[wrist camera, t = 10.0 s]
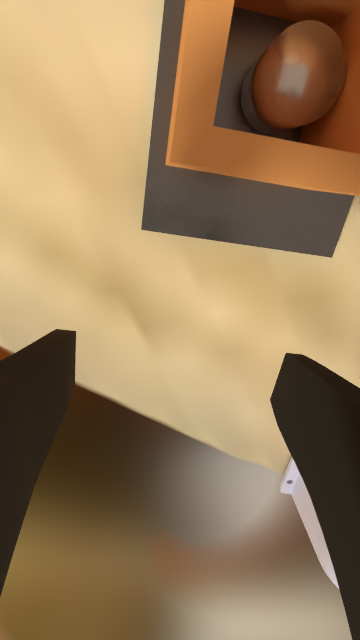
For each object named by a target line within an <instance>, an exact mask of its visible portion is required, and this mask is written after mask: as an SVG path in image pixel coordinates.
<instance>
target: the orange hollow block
mask: <svg viewBox="0 0 360 640" xmlns="http://www.w3.org/2000/svg"><path fill="white" fill-rule="evenodd" d="M233 6H234V7H238V8H242V9H246V10H250V11H254V12H258V13H263V14H267V15H271V16H275V17H279V18H283V19H287V20H291V21H295V22H301V21H305V20H315V21H319V22H322V23H324V24H326V25H328V26H329V27H331V28H332V29H333V30H334V31H335V32H336V34H337V35H338V37H339V38H340V40H341V42H342V45H343V48H344V51H345V57H346V73H345V79H344V83H343V86H342V89H341V92H340V94H339V96H338V98H337V99H336V101H335V103H334V104H333V105H332V107H331V108H330V109H329V110H328V111H327V112H326V113H325V114H324V115H323V116H322V117H320V118H319V119H317V120H315V121H313V122H311V123H308V124H305V125H304V126H303V129H302V133H301V137H300V140H299V142H294V141H288V140H283V139H278V138H273V137H268V136H262V135H257V134H252V133H247V132H242V131H236V130H231V129H226V128H221V127H216V126H213V124H214V118H215V112H216V106H217V100H218V95H219V89H220V83H221V77H222V71H223V65H224V59H225V53H226V48H227V42H228V36H229V30H230V24H231V18H232V12H233ZM165 165H168V166H174V167H180V168H186V169H192V170H197V171H203V172H209V173H215V174H220V175H226V176H232V177H238V178H243V179H249V180H255V181H261V182H266V183H272V184H278V185H284V186H289V187H295V188H301V189H307V190H314V191H323V192H331V193H339V194H348V195H356V196H360V0H185V7H184V15H183V24H182V32H181V40H180V48H179V56H178V64H177V73H176V81H175V89H174V97H173V105H172V114H171V122H170V130H169V138H168V146H167V154H166V163H165Z"/></svg>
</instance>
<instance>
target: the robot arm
mask: <svg viewBox="0 0 360 640" xmlns="http://www.w3.org/2000/svg"><path fill="white" fill-rule="evenodd" d="M75 351H76V331H69V330H59V329H56V330H54V331H52V332H50V333H49V334H47V335H45V336H43V337H42V338H40V339H38V340H37V341H35V342H33V343H32V344H30V345H28V346H27V347H25V348H23V349H21V350H20V351H18V352H16V353H14V354H13V355H11V356H9V357H7V358H5V359H3V360H1V361H0V596H1V592H2V589H3V586H4V582H5V579H6V575H7V572H8V569H9V565H10V562H11V559H12V555H13V552H14V549H15V545H16V542H17V539H18V536H19V533H20V530H21V526H22V523H23V519H24V517H25V514H26V511H27V507H28V505H29V501H30V498H31V495H32V492H33V489H34V486H35V483H36V481H37V478H38V476H39V473H40V471H41V468H42V466H43V464H44V462H45V459H46V457H47V455H48V453H49V450H50V448H51V446H52V444H53V441H54V439H55V437H56V434H57V432H58V430H59V427H60V425H61V423H62V421H63V418H64V416H65V414H66V411H67V409H68V405H69V402H70V399H71V395H72V391H73V388H74V384H75ZM270 401H271V404H272V408H273V412H274V415H275V418H276V421H277V425H278V427H279V429H280V432H281V434H282V436H283V438H284V440H285V443H286V445H287V447H288V449H289V451H290V453H291V456H292V457H291V459H290V462H289V464H288V467H287V469H286V472H285V474H284V476H283V479H282V482H281V484H280V486H279V488H280V491H281V492H282V493H284V494H292V497H293V499H294V502H295V504H296V506H297V509H298V511H299V513H300V516H301V518H302V521H303V523H304V525H305V528H306V530H307V533H308V535H309V537H310V539H311V542H312V544H313V547H314V549H315V552H316V554H317V556H318V559H319V561H320V563H321V565H322V567H323V569H324V571H325V572H326V574H327V575H328V577H329V578H330V579H331V581H332V582H333V583H334V584H335V585H336V586H337V587H338V588H339V590H340V593H341V596H342V600H343V604H344V607H345V611H346V615H347V619H348V623H349V627H350V632H351V636H352V640H360V388H359V387H357V386H355V385H354V384H352V383H350V382H349V381H347V380H345V379H344V378H342V377H341V376H339V375H337V374H336V373H334V372H333V371H331V370H329V369H328V368H326V367H324V366H323V365H321V364H319V363H318V362H316V361H314V360H312V359H310V358H308V357H306V356H304V355H301V354H291V353H286V354H285V357H284V360H283V363H282V366H281V369H280V372H279V375H278V378H277V381H276V384H275V387H274V390H273V393H272V396H271V399H270Z"/></svg>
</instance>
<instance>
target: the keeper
mask: <svg viewBox="0 0 360 640" xmlns="http://www.w3.org/2000/svg"><path fill="white" fill-rule="evenodd" d="M184 7H185V0H165V3H164V13H163V22H162V32H161V42H160V52H159V62H158V71H157V81H156V91H155V101H154V111H153V120H152V130H151V140H150V150H149V160H148V169H147V179H146V189H145V199H144V209H143V219H142V228H141V230H147V231H154V232H161V233H168V234H175V235H181V236H188V237H195V238H202V239H209V240H216V241H222V242H229V243H236V244H243V245H250V246H257V247H264V248H270V249H277V250H284V251H291V252H298V253H305V254H311V255H318V256H325V257H332V256H333V253H334V251H335V248H336V245H337V242H338V239H339V237H340V234H341V231H342V228H343V225H344V222H345V220H346V217H347V214H348V211H349V208H350V206H351V203H352V200H353V197H354V195H348V194H339V193H331V192H323V191H314V190H307V189H301V188H295V187H289V186H284V185H278V184H272V183H266V182H261V181H255V180H249V179H243V178H238V177H232V176H226V175H220V174H215V173H209V172H203V171H197V170H192V169H186V168H180V167H174V166H168V165H165V163H166V154H167V146H168V138H169V130H170V122H171V114H172V105H173V97H174V89H175V81H176V73H177V64H178V56H179V48H180V40H181V32H182V24H183V15H184ZM345 73H346V57H345V51H344V48H343V45H342V42H341V40H340V38H339V37H338V35H337V34H336V32H335V31H334V30H333V29H332V28H331V27H329V26H328V25H326V24H324V23H322V22H319V21H315V20H305V21H301V22H295V21H291V20H287V19H283V18H279V17H275V16H271V15H267V14H263V13H258V12H254V11H250V10H246V9H242V8H238V7H234V6H233V12H232V18H231V24H230V30H229V36H228V42H227V48H226V53H225V59H224V65H223V71H222V77H221V83H220V89H219V95H218V100H217V106H216V112H215V118H214V124H213V126H216V127H221V128H226V129H231V130H236V131H242V132H247V133H252V134H257V135H262V136H268V137H273V138H278V139H283V140H288V141H294V142H299V140H300V137H301V133H302V129H303V126H304V125H305V124H308V123H311V122H313V121H315V120H317V119H319V118H320V117H322V116H323V115H324V114H325V113H326V112H327V111H328V110H329V109H330V108H331V107H332V105H333V104H334V103H335V101H336V99H337V98H338V96H339V94H340V92H341V89H342V86H343V83H344V79H345Z"/></svg>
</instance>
